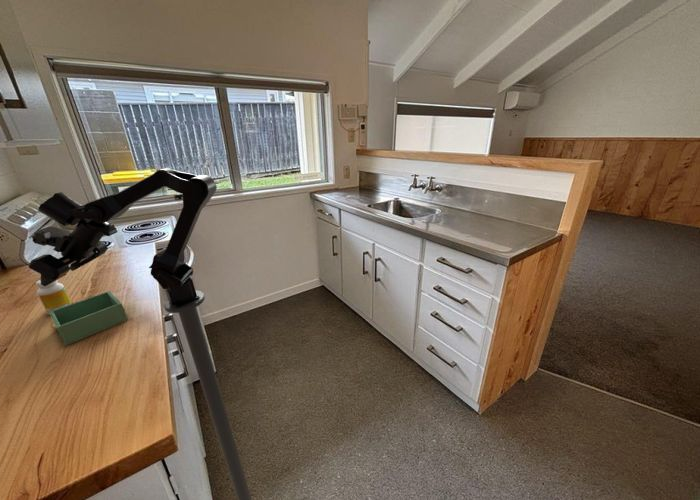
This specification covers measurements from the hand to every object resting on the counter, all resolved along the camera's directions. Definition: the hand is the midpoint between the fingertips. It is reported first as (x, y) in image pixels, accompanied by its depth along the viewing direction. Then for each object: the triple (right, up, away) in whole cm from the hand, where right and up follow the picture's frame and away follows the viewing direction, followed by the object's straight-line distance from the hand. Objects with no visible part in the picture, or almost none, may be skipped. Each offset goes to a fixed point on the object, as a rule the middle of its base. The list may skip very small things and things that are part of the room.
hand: (58, 277), depth 78 cm
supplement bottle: (-3, -10, +4) cm, 11 cm away
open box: (+13, -12, -3) cm, 18 cm away
